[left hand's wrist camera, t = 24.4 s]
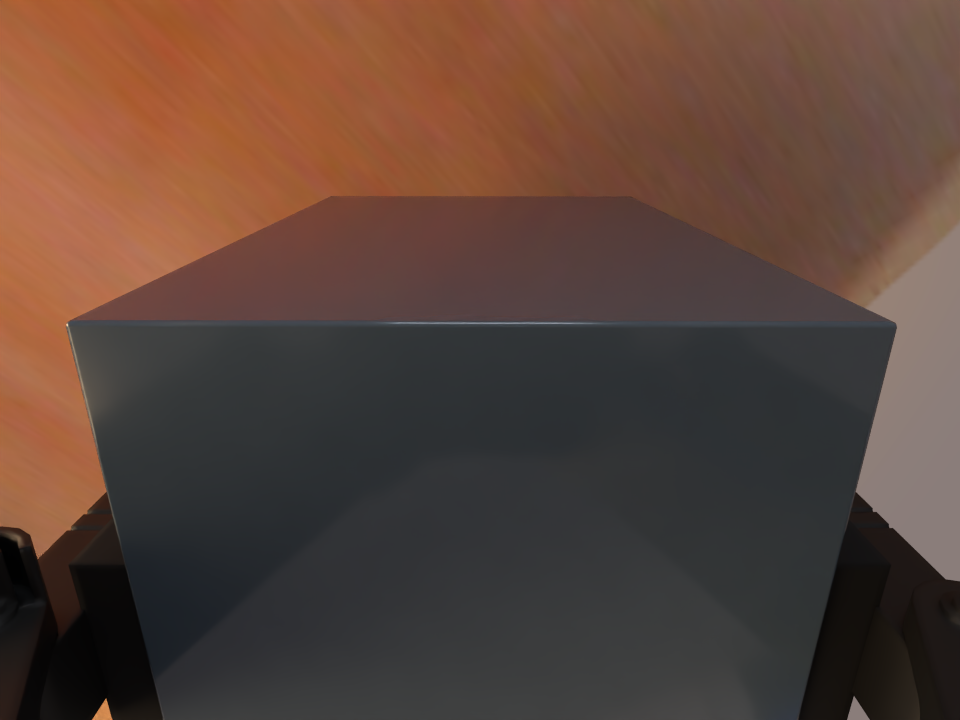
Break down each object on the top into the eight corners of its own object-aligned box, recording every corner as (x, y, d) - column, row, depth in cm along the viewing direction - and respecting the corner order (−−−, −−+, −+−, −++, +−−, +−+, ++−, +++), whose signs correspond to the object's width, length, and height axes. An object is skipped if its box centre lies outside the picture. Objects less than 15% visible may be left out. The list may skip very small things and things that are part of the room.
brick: (608, 477, 20) (757, 890, 9) (352, 477, 20) (203, 888, 9) (632, 196, 17) (900, 322, 6) (329, 195, 17) (61, 321, 6)
